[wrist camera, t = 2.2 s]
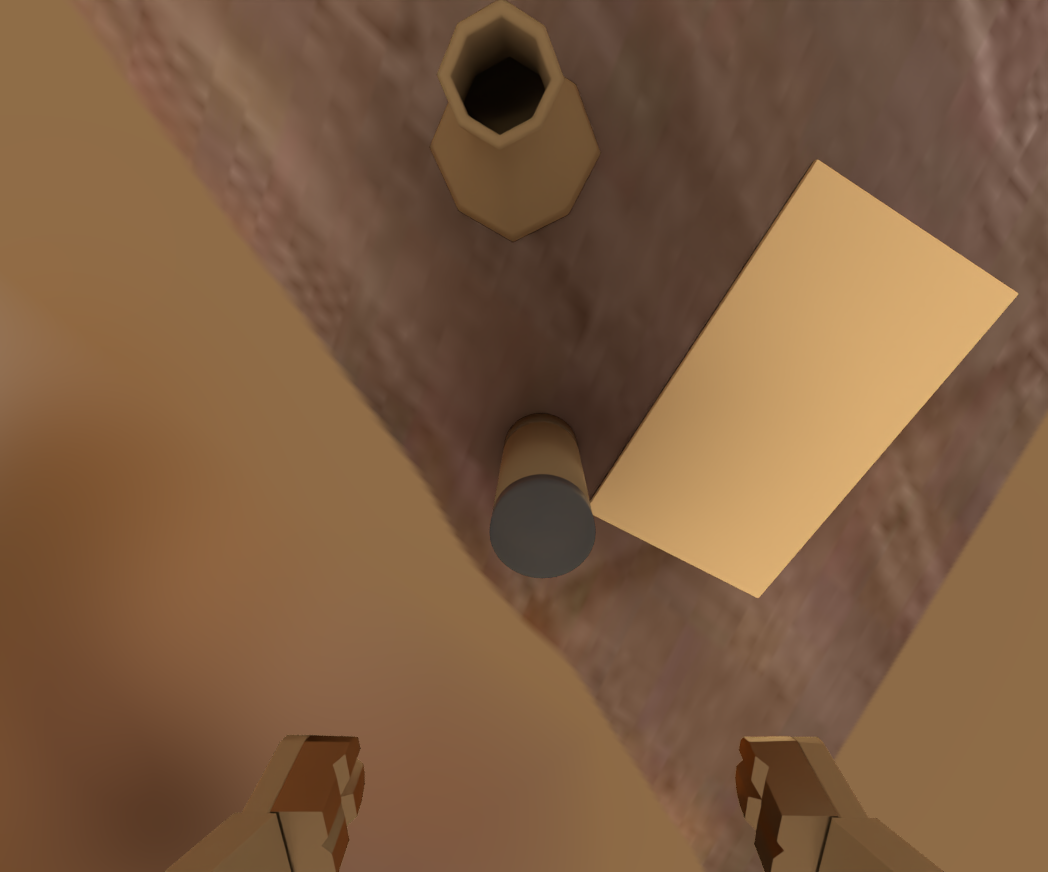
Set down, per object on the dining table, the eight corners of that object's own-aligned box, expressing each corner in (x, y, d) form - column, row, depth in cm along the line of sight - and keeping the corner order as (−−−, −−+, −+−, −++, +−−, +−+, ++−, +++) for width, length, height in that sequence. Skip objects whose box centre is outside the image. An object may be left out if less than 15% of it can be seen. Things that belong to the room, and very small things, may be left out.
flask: (518, 12, 21) (504, -188, 11) (628, 155, 23) (694, 82, 13) (402, 147, 23) (307, 69, 13) (512, 270, 24) (497, 278, 15)
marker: (526, 400, 26) (520, 467, 18) (591, 434, 27) (615, 515, 19) (491, 461, 28) (471, 550, 19) (554, 493, 28) (561, 593, 20)
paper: (814, 160, 22) (817, 159, 22) (1012, 293, 24) (1018, 293, 24) (584, 508, 28) (585, 511, 28) (756, 595, 30) (758, 598, 30)
